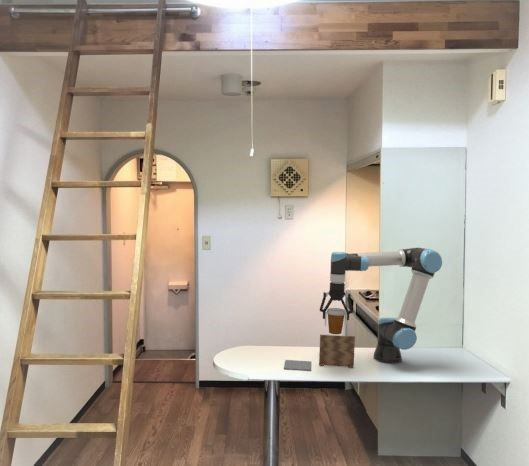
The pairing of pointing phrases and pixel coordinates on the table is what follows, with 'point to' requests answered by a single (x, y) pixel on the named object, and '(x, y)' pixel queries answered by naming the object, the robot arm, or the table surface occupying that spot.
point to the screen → (337, 350)
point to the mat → (297, 365)
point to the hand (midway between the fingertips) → (335, 325)
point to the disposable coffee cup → (335, 320)
